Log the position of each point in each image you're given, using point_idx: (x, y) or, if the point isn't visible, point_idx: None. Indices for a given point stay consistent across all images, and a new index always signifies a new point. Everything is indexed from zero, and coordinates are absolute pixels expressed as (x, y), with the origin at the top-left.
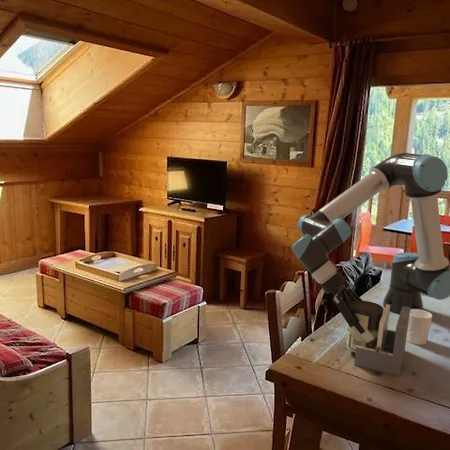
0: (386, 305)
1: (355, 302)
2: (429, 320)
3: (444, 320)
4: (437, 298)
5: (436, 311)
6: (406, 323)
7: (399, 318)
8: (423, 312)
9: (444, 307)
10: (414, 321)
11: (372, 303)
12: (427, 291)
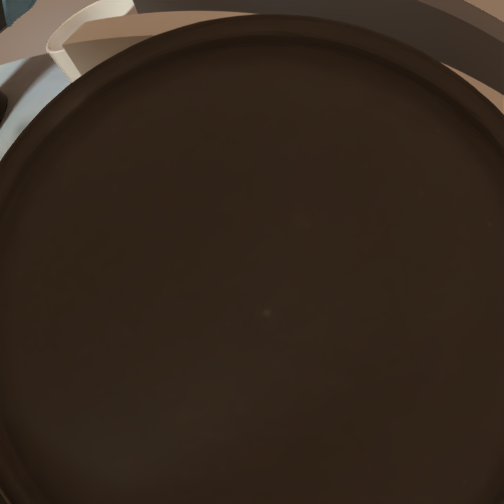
0: (89, 37)
1: (31, 498)
2: None
3: (46, 54)
4: (30, 5)
5: (10, 72)
6: (492, 16)
7: (432, 4)
8: (73, 23)
9: (5, 64)
10: None
11: (38, 150)
12: (2, 11)
